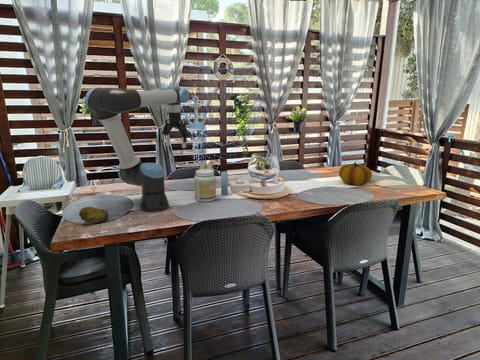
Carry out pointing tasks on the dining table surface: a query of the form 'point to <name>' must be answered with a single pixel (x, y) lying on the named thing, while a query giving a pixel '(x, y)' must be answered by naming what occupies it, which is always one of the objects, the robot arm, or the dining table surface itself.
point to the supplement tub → (205, 185)
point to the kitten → (207, 166)
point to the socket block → (239, 185)
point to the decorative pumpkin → (355, 174)
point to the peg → (224, 183)
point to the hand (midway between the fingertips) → (175, 146)
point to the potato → (93, 214)
